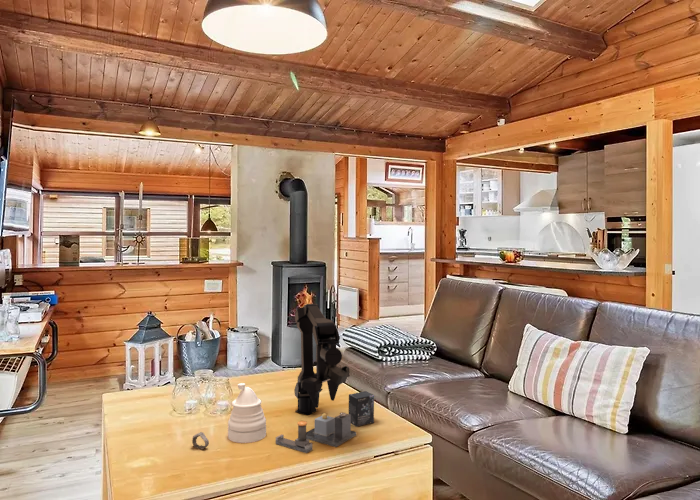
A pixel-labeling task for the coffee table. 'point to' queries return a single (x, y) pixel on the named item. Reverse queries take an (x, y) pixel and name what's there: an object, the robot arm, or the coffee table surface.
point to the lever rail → (292, 444)
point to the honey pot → (246, 417)
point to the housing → (324, 424)
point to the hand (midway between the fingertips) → (324, 403)
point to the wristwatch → (202, 438)
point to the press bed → (327, 439)
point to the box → (361, 408)
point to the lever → (301, 434)
